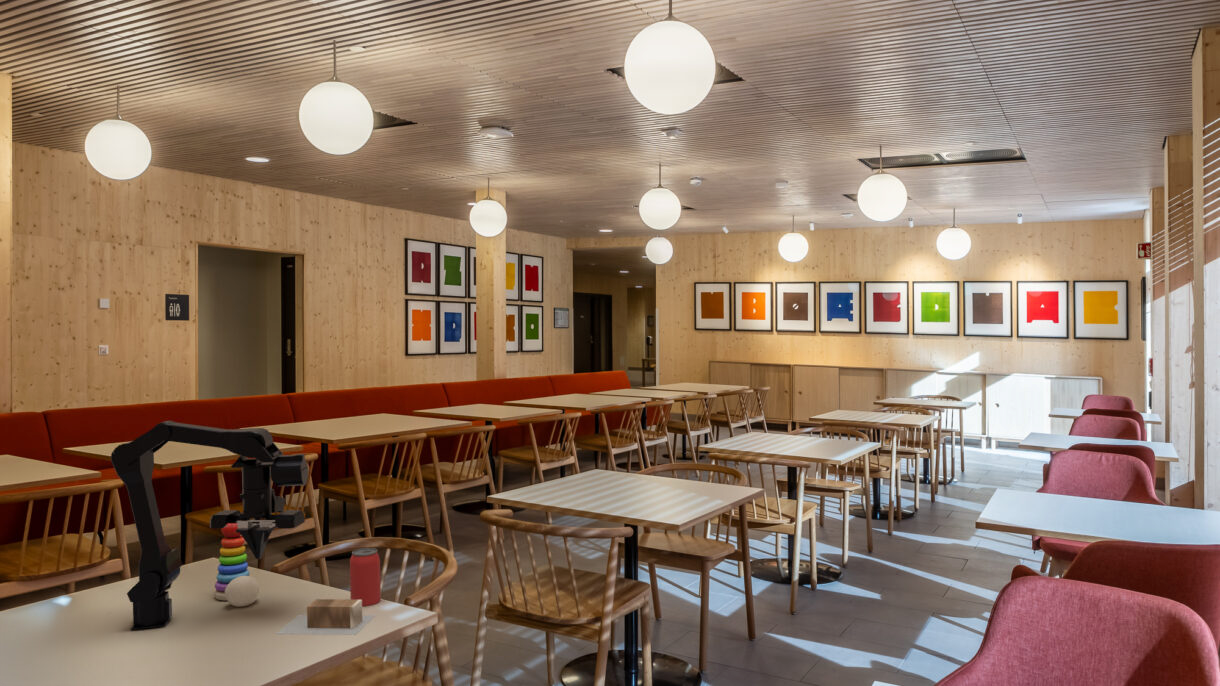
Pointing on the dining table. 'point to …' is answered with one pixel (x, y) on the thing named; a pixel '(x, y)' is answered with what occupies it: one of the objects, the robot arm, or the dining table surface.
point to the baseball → (242, 591)
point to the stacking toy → (230, 559)
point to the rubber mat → (300, 627)
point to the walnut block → (334, 613)
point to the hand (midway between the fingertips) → (258, 558)
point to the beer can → (365, 576)
